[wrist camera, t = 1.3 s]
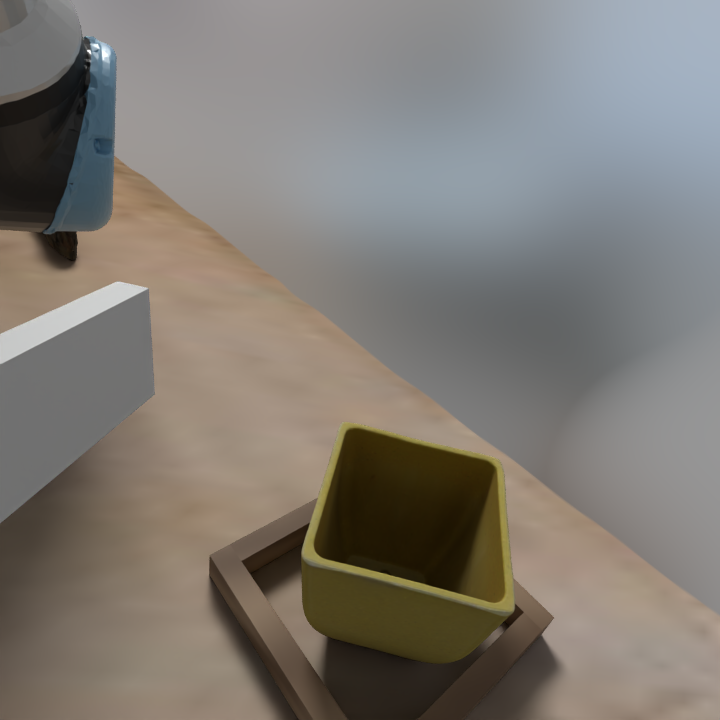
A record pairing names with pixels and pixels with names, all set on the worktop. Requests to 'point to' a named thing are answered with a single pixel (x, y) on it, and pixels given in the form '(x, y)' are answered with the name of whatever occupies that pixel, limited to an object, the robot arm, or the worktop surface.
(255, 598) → the square wooden frame
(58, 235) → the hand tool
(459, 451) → the flower pot
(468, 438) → the worktop surface
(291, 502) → the worktop surface
